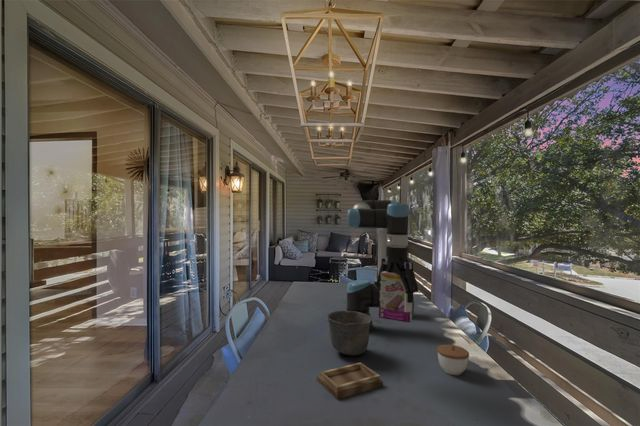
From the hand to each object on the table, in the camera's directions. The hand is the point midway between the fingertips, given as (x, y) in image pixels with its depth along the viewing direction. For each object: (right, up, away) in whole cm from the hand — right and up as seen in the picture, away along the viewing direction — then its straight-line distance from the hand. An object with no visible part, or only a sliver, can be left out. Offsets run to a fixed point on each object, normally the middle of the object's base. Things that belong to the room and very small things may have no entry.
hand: (395, 307), depth 116 cm
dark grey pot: (-16, -24, +17) cm, 33 cm away
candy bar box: (0, -4, 0) cm, 4 cm away
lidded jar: (+22, -25, +3) cm, 33 cm away
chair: (+20, -25, +72) cm, 79 cm away
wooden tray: (-17, -23, -7) cm, 30 cm away
